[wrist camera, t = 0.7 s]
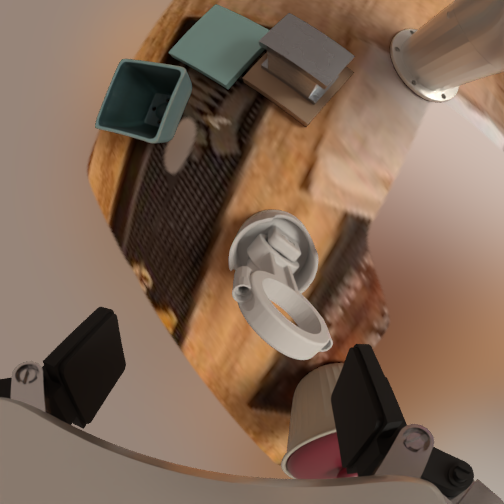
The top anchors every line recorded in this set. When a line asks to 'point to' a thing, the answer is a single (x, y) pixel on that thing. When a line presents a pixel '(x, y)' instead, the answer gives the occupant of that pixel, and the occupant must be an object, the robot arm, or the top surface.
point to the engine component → (278, 283)
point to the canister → (314, 429)
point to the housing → (303, 57)
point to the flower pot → (145, 100)
